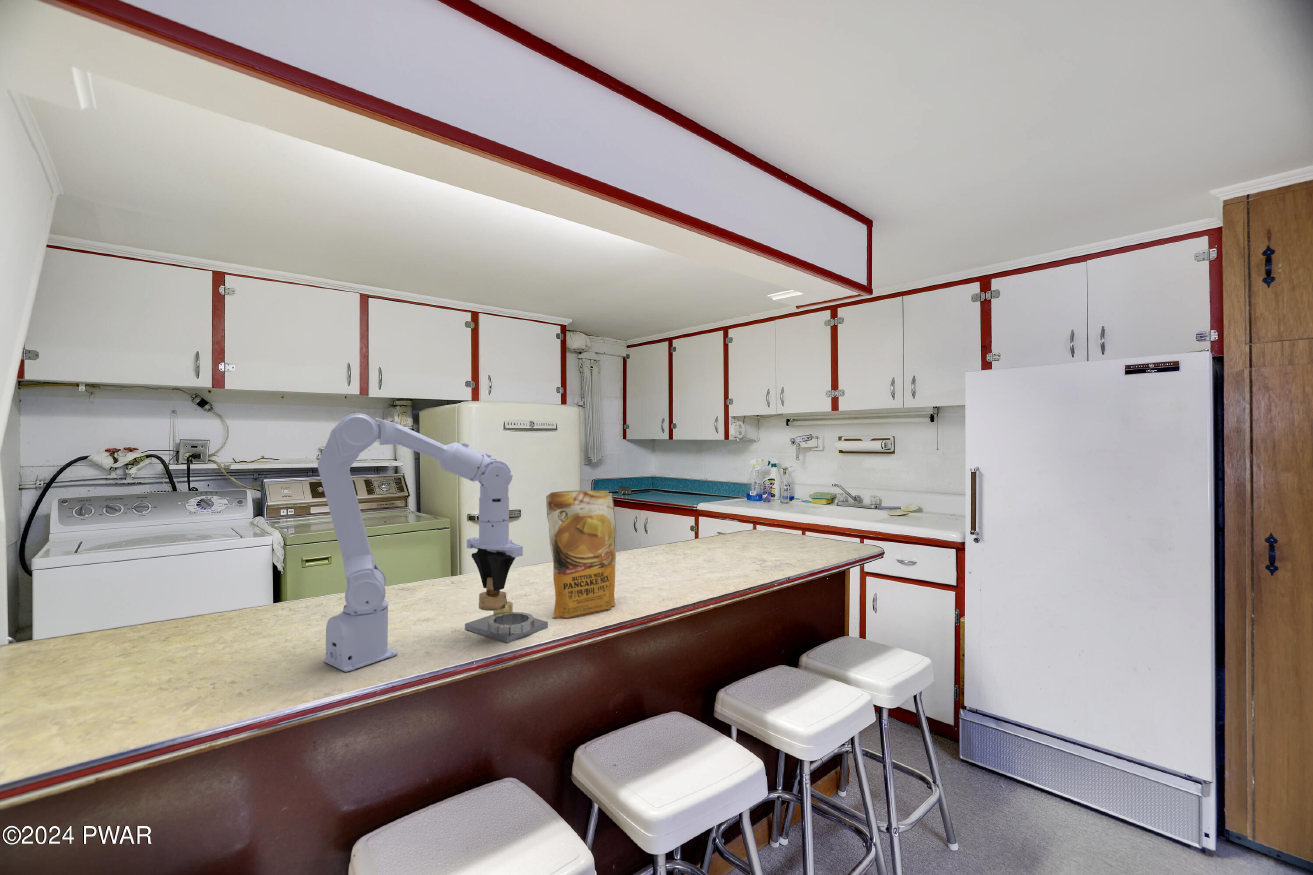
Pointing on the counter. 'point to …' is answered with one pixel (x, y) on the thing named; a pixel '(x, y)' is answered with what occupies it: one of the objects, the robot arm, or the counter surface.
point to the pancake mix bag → (582, 551)
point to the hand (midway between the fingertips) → (493, 588)
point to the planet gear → (492, 598)
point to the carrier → (506, 624)
